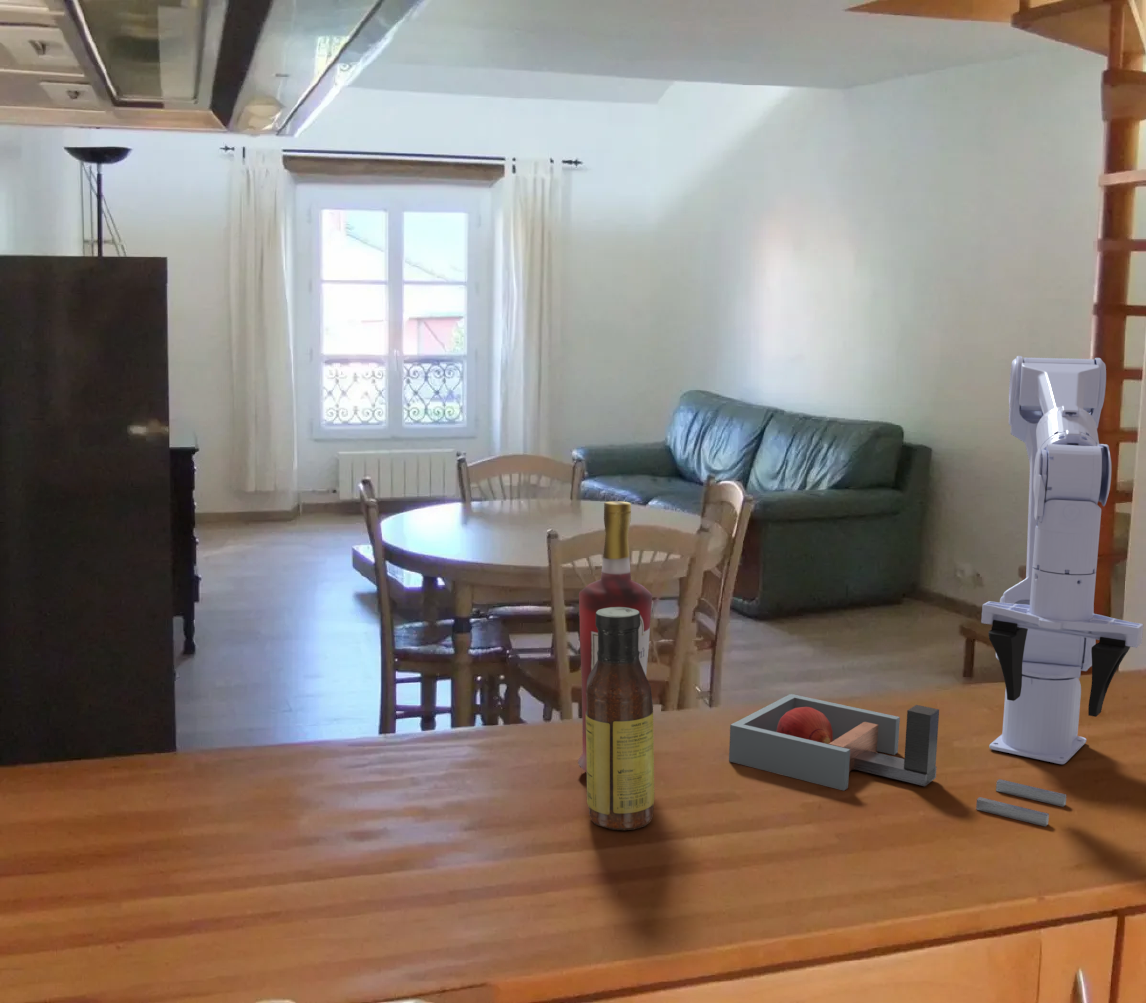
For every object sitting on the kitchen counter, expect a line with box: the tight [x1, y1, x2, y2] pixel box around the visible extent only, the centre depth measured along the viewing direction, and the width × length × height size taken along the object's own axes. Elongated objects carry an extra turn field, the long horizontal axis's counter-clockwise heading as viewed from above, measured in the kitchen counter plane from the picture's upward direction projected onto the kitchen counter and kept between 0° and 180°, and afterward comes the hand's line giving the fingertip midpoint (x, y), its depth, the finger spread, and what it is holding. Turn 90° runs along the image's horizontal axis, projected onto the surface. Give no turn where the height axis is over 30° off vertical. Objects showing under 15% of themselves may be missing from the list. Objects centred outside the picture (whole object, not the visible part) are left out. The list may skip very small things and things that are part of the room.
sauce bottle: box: [586, 607, 655, 831], centre depth 113 cm, size 6×6×20 cm
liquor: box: [577, 500, 653, 774], centre depth 124 cm, size 7×7×28 cm
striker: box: [829, 704, 940, 787], centre depth 127 cm, size 9×9×7 cm
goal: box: [728, 693, 901, 791], centre depth 132 cm, size 14×13×4 cm
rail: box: [975, 778, 1067, 828], centre depth 120 cm, size 7×6×1 cm
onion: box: [776, 707, 833, 744], centre depth 131 cm, size 6×6×8 cm
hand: (1053, 705), depth 121 cm, fingers open, 7 cm apart
